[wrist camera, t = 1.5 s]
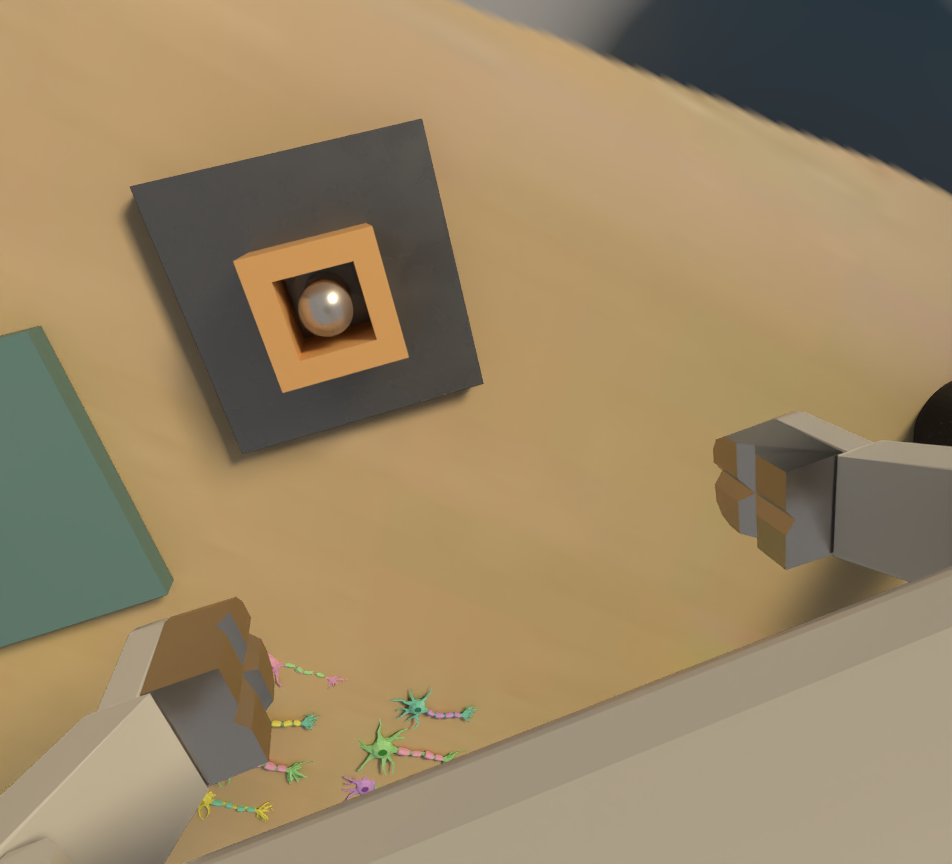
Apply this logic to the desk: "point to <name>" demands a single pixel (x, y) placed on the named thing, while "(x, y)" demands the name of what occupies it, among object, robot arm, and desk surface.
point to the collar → (280, 326)
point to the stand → (315, 275)
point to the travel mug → (936, 419)
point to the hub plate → (61, 505)
